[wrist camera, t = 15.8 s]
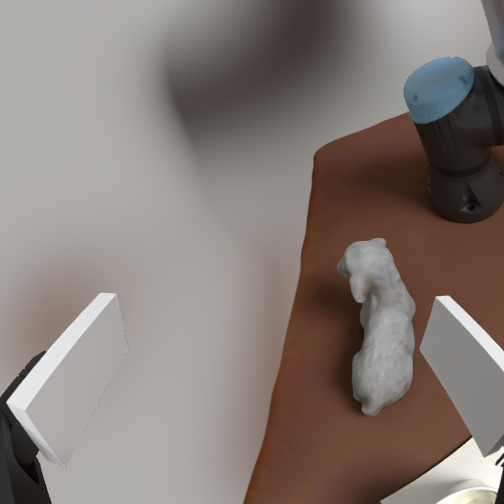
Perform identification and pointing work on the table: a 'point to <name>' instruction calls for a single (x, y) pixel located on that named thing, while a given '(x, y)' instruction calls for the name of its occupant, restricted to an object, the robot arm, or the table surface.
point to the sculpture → (379, 326)
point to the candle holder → (469, 493)
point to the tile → (451, 475)
